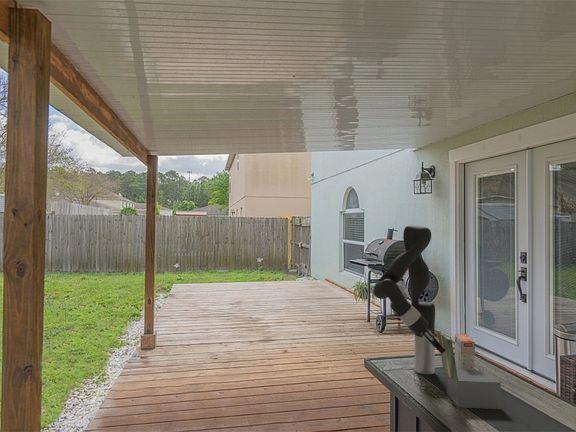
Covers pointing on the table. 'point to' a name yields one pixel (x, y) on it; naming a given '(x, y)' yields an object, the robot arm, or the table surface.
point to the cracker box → (464, 352)
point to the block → (475, 390)
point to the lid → (448, 356)
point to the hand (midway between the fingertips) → (443, 351)
